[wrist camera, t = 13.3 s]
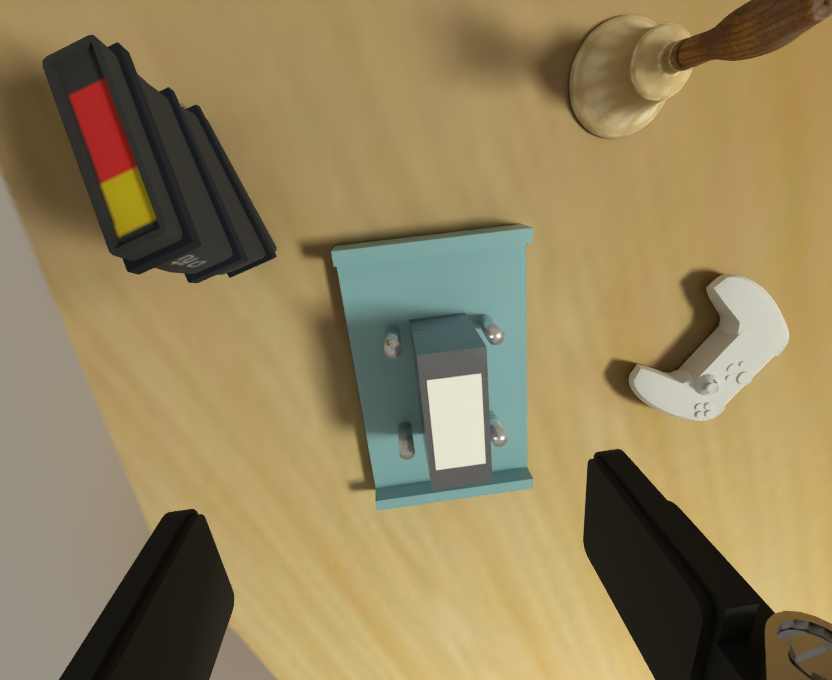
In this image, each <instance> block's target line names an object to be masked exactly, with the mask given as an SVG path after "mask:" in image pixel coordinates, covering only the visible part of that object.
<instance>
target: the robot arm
mask: <svg viewBox="0 0 832 680" xmlns="http://www.w3.org/2000/svg"><path fill="white" fill-rule="evenodd" d="M583 543H584V548H585V551H586V554H587V556H588V558H589V560H590V562H591V564H592V565H593V567H594V569H595V571H596V573H597V574H598V576H599V578H600V580H601V582H602V584H603V585H604V587H605V589H606V591H607V593H608V594H609V596H610V598H611V600H612V602H613V604H614V605H615V607H616V609H617V611H618V613H619V614H620V616H621V618H622V620H623V622H624V624H625V625H626V627H627V629H628V631H629V633H630V634H631V636H632V638H633V640H634V642H635V643H636V645H637V647H638V649H639V651H640V653H641V654H642V656H643V658H644V660H645V662H646V663H647V665H648V667H649V669H650V671H651V673H652V674H653V676H654V678H655V680H832V624H831V623H829V622H827V621H824V620H822V619H820V618H818V617H816V616H812V615H809V614H805V613H802V612H794V611H783V612H779V613H774V612H773V610H772V609H771V608H770V607H769V606H768V605H767V604H766V603H765V602H764V601H763V599H762V598H761V597H760V596H759V595H758V594H757V593H756V592H755V591H754V590H753V588H752V587H751V586H750V585H749V584H748V583H747V582H746V581H745V580H744V579H743V577H742V576H741V575H740V574H739V573H738V572H737V571H736V570H735V569H734V568H733V566H732V565H731V564H730V563H729V562H728V561H727V560H726V559H725V558H724V557H723V555H722V554H721V553H720V552H719V551H718V550H717V549H716V548H715V547H714V546H713V544H712V543H711V542H710V541H709V540H708V539H707V538H706V537H705V536H704V535H703V533H702V532H701V531H700V530H699V529H698V528H697V527H696V526H695V525H694V524H693V522H692V521H691V520H690V519H689V518H688V517H687V516H686V515H685V514H684V513H683V511H682V510H681V509H680V508H679V507H678V506H677V505H675V504H674V503H673V502H671V501H668V500H666V498H665V497H664V496H663V495H662V494H661V493H660V492H659V491H658V490H657V488H656V487H655V486H654V485H653V484H652V483H651V482H650V481H649V479H648V478H647V477H646V476H645V475H644V474H643V473H642V472H641V470H640V469H639V468H638V467H637V466H636V465H635V464H634V463H633V461H632V460H631V459H630V458H629V457H628V456H627V455H626V454H625V453H624V452H623V451H622V450H620V449H615V450H608V451H601V452H596V453H595V455H594V459H590V460H589V461H588V468H587V485H586V502H585V519H584V536H583ZM233 607H234V593H233V590H232V587H231V584H230V582H229V579H228V576H227V574H226V571H225V568H224V566H223V563H222V560H221V558H220V555H219V553H218V550H217V547H216V545H215V542H214V539H213V537H212V534H211V531H210V529H209V526H208V523H207V521H206V518H205V516H204V515H203V514H199V515H198V513H197V511H196V510H194V509H189V510H181V511H174V512H168V513H166V514H165V515H164V516H163V517H162V519H161V521H160V522H159V524H158V525H157V527H156V528H155V530H154V532H153V533H152V535H151V536H150V538H149V539H148V541H147V542H146V544H145V546H144V547H143V549H142V550H141V552H140V553H139V555H138V557H137V558H136V560H135V561H134V563H133V565H132V566H131V568H130V569H129V571H128V572H127V574H126V575H125V577H124V579H123V580H122V582H121V583H120V585H119V586H118V588H117V590H116V591H115V593H114V594H113V596H112V598H111V599H110V601H109V602H108V604H107V605H106V607H105V608H104V610H103V611H102V613H101V615H100V616H99V618H98V619H97V621H96V623H95V624H94V626H93V627H92V629H91V631H90V632H89V633H88V635H87V637H86V638H85V640H84V641H83V643H82V644H81V646H80V648H79V649H78V651H77V652H76V654H75V655H74V657H73V658H72V661H71V662H70V663H69V665H68V666H67V668H66V670H65V671H64V673H63V674H62V676H61V677H60V679H59V680H209V679H210V676H211V673H212V669H213V667H214V664H215V661H216V658H217V655H218V652H219V649H220V646H221V643H222V640H223V637H224V634H225V631H226V628H227V625H228V622H229V620H230V617H231V614H232V611H233Z"/></svg>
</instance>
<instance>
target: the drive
mask: <svg viewBox="0 0 832 680" xmlns="http://www.w3.org/2000/svg"><path fill="white" fill-rule="evenodd" d="M409 322H410V331H411V339H412V348H413V357H414V365H415V374H416V383H417V391H418V400H419V409H420V417H421V426H422V435H423V441H424V446H425V452H426V458H427V464H428V470H429V476H430V482H431V488H432V490H438V489H445V488H452V487H459V486H466V485H473V484H480V483H487V482H493V481H492V458H491V435H490V412H489V389H488V366H487V346H486V345H485V343H484V342H483V340H482V339H481V337H480V335H479V334H478V332H477V331H476V329H475V328H474V326H473V324H472V323H471V321H470V320H469V318H468V317H467V315H466V313H460V314H452V315H444V316H436V317H428V318H420V319H412V320H409Z"/></svg>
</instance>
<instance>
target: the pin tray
mask: <svg viewBox="0 0 832 680" xmlns="http://www.w3.org/2000/svg"><path fill="white" fill-rule="evenodd" d="M529 243H533V228H532V227H529V226H526V225H523V224H516V225H507V226H499V227H490V228H482V229H473V230H465V231H456V232H448V233H440V234H431V235H423V236H414V237H406V238H397V239H389V240H380V241H372V242H363V243H355V244H346V245H338V246H334V248H333V249H332V251H331V254H332V260H333V266H334V267H337V272H338V277H339V283H340V289H341V294H342V300H343V306H344V311H345V317H346V323H347V328H348V334H349V340H350V345H351V351H352V357H353V362H354V368H355V374H356V379H357V385H358V391H359V397H360V402H361V408H362V414H363V419H364V425H365V431H366V436H367V442H368V448H369V453H370V459H371V465H372V470H373V476H374V482H375V487H376V506H377V510H384V509H391V508H398V507H405V506H412V505H419V504H426V503H433V502H440V501H447V500H454V499H461V498H468V497H475V496H482V495H489V494H496V493H503V492H510V491H517V490H524V489H531V488H533V478H532V476H531V474H530V472H529V470H528V468H527V364H526V244H529ZM460 313H466V315H467V317H468V318H469V320H470V321H471V323H472V324H473V326H474V328H475V329H476V331H477V332H478V334H479V335H480V337H481V339H482V340H483V342H484V343H485V345H486V346H487V366H488V389H489V412H490V435H491V458H492V481H493V482H487V483H480V484H473V485H466V486H459V487H452V488H445V489H438V490H432V488H431V482H430V476H429V470H428V464H427V458H426V452H425V446H424V441H423V435H422V426H421V417H420V409H419V400H418V391H417V383H416V374H415V365H414V357H413V348H412V339H411V331H410V322H409V320H412V319H420V318H428V317H436V316H444V315H452V314H460Z"/></svg>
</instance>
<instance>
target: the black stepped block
mask: <svg viewBox="0 0 832 680" xmlns="http://www.w3.org/2000/svg"><path fill="white" fill-rule="evenodd" d="M43 68H44V71H45V74H46V76H47V79H48V82H49V85H50V88H51V90H52V93H53V96H54V99H55V102H56V104H57V107H58V110H59V113H60V116H61V118H62V121H63V124H64V127H65V129H66V132H67V135H68V138H69V141H70V143H71V146H72V149H73V152H74V155H75V157H76V160H77V163H78V166H79V168H80V171H81V174H82V177H83V180H84V182H85V185H86V188H87V191H88V194H89V196H90V199H91V202H92V205H93V208H94V210H95V213H96V216H97V219H98V221H99V224H100V227H101V230H102V233H103V235H104V238H105V241H106V244H107V247H108V249H109V252H110V253H111V254H112V255H114V256H117V257H121V258H123V261H124V264H125V266H126V269H127V271H128V272H131V273H135V274H141V273H143V272H146V271H148V270H150V269H152V268H158V269H161V270H164V271H168V272H174V273H184V274H185V276H186V278H187V281H188V282H189V283H199V282H201V281H203V280H206V279H208V278H210V277H212V276H215V275H222V274H225V273H227V274H228V276H229V278H231V277H233V276H235V275H237V274H240V273H242V272H244V271H246V270H249V269H251V268H253V267H255V266H258V265H260V264H262V263H265V262H267V261H269V260H271V259H273V258H275V257H277V256H276V254H275V251H276V250H277V249H276V246H275V244H274V242H273V240H272V238H271V236H270V235H269V233H268V231H267V229H266V227H265V225H264V224H263V222H262V220H261V218H260V216H259V214H258V212H257V211H256V209H255V207H254V205H253V203H252V201H251V199H250V198H249V196H248V194H247V192H246V190H245V188H244V187H243V185H242V183H241V181H240V179H239V177H238V175H237V174H236V172H235V170H234V168H233V166H232V164H231V163H230V161H229V159H228V157H227V155H226V153H225V151H224V150H223V148H222V146H221V144H220V142H219V140H218V139H217V137H216V135H215V133H214V131H213V129H212V127H211V126H210V124H209V122H208V120H207V119H206V118H205V116H204V114H203V112H202V110H201V108H200V106H198V105H194V106H192V107H190V108H187V109H184V108H182V107H181V106H180V104H179V102H178V99H177V97H176V95H175V93H174V91H173V90H172V89H170V88H166V89H164V90H162V91H160V92H159V91H157V90H156V89H155V88H153V87H152V86H150V85H149V84H148V83H147V82H146V81H145V80H144V79H142V78H141V77H140V76H139V75H138V74H137V72H136V70H135V67H134V64H133V62H132V59H131V56H130V54H129V52H128V51H127V50H126V49H125V48H124V47H122V46H121V45H120V44H119V43H118V42H117V43H115V44H113V45H111V46H109V47H107V46H105V45H104V44H103V43H102V42H101V41H100V40H99V39H98V38H96V37H95V36H94V35H88V36H86V37H84V38H82V39H80V40H78V41H76V42H74V43H72V44H70V45H68V46H66V47H64V48H62V49H60V50H58V51H56V52H55V53H53V54H51V55H49V56H47V57H46V58H45V59H44V60H43Z"/></svg>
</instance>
